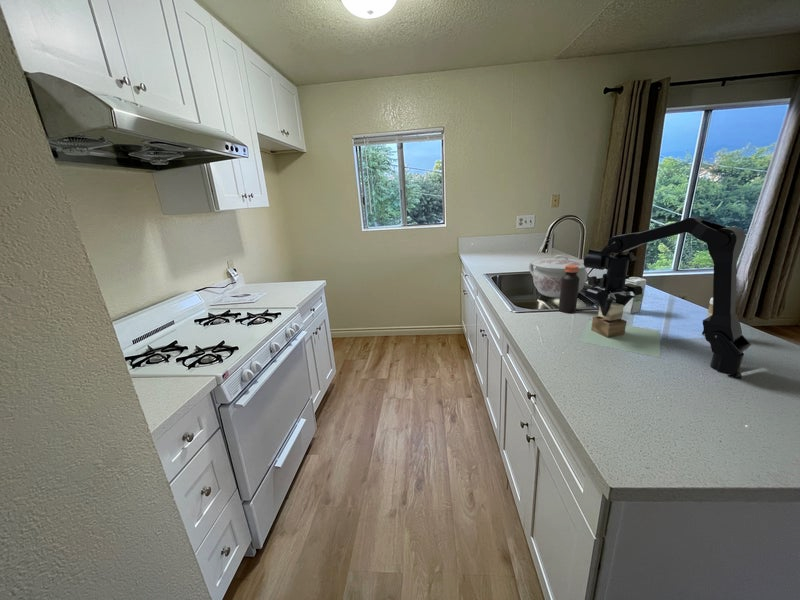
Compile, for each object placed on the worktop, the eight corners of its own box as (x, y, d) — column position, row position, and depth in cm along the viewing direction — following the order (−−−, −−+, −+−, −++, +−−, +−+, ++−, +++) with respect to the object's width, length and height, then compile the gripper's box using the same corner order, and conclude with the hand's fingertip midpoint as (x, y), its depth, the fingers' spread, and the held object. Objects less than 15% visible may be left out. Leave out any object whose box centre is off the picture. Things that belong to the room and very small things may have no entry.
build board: (659, 359, 97) (660, 357, 97) (578, 343, 110) (579, 341, 110) (659, 332, 115) (659, 330, 115) (589, 321, 128) (589, 319, 128)
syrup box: (627, 308, 139) (632, 276, 135) (640, 312, 134) (647, 279, 130) (617, 310, 138) (622, 277, 133) (630, 314, 132) (636, 280, 128)
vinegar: (571, 314, 136) (577, 268, 130) (555, 310, 141) (560, 266, 135) (578, 310, 140) (583, 265, 134) (562, 307, 145) (567, 264, 139)
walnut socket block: (624, 334, 113) (626, 321, 111) (607, 337, 111) (609, 323, 110) (607, 327, 119) (609, 314, 118) (591, 330, 118) (592, 317, 116)
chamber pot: (597, 303, 147) (603, 259, 141) (534, 303, 152) (538, 260, 146) (576, 286, 174) (580, 249, 167) (523, 287, 179) (526, 250, 172)
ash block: (621, 318, 112) (623, 305, 110) (609, 320, 111) (611, 307, 109) (609, 314, 116) (611, 301, 115) (598, 315, 115) (600, 302, 114)
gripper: (618, 265, 118) (612, 304, 123) (575, 270, 114) (571, 311, 119) (647, 270, 107) (639, 314, 112) (601, 276, 104) (595, 321, 108)
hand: (610, 314), depth 113 cm, fingers closed on ash block, 5 cm apart
